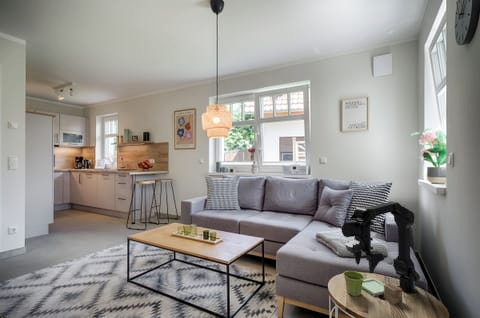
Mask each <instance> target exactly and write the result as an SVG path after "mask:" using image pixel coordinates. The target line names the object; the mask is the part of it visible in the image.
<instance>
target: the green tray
mask: <svg viewBox="0 0 480 318" xmlns="http://www.w3.org/2000/svg"><path fill="white" fill-rule="evenodd" d="M384 285H386V284H385V283H383V282H382V281H380V280H378V279H376V278H375V277H370V278H366V279H364V280H363V283H362V289H361V290H363V291H364V292H366V293H368V294H370V295H371V296H372V297H377V296H381V295H382V296H384Z"/></svg>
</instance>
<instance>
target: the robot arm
mask: <svg viewBox="0 0 480 318" xmlns="http://www.w3.org/2000/svg"><path fill="white" fill-rule="evenodd" d="M389 213H390V214H391V215H392V216H393V221H394V222H395V225H396V226H397V253H398V254H397V257H395V258H393V260H392V262H393V265H392V267H393V269H394V271H395V274H396V275H399V282H398V283H399V284H398V285H397V286H398V287H399V288H401V289H402V292H405V293H407V294H413V293H418V292H419V290H418V289H416V283H417V282H418V281H420V277H421V275H420V274H419V273H418V272H417V271H416V268H415V263H414V261H413V259H412V257H411V228H412V227H413V225H414V224H415V213H414V212H413V211H412V210H410V209H408V208H406V207H405V206H403V205H402V204H400V203H399V202H396V201H387V202H384V203H380V204H377V205H372V206H357V207H355V210H354V211H353V213H352V214H351V217H350V218H349V221H344V223H343V225H342V226H341V228H340V229H341V232H342V236H344V237H345V238H354V239H352V240H348V241H347V242H346V243H344V245H345V248H346V251H347V252H349V253H350V254H353V258H354V260H355V263H356V265H358V266H359V265H360V263H361V259H362V255H363V253H364V254H365V257H366V258H365V260H366V261H367V262H368V270H369V273H370V274H373V273H374V272H375V269H376V267H377V266H378V265H379V263H380V262H382V261H385V255H384V254H383V253H382V252H381V251H378V250H374V247H373V246H372V241H373V240H374V238H373V237H372V235H371V234H372V233H371V231H372V228H371V226H374V225H375V222H373V221H374V220H375V219H376V218H377V217H378V216H380V215H384V214H389Z"/></svg>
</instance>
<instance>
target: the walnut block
mask: <svg viewBox="0 0 480 318" xmlns="http://www.w3.org/2000/svg"><path fill="white" fill-rule="evenodd" d="M398 286H399V285H396V284H394V283H388V284H385V285H384V294H383V299H384V300H386V301H388V302H390V303H391V304H393V305H396V304H400V303H403V290H402V289H401V288H399V287H398Z"/></svg>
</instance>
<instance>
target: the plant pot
mask: <svg viewBox="0 0 480 318" xmlns="http://www.w3.org/2000/svg"><path fill="white" fill-rule="evenodd" d="M342 275H343V276H344V277H343V278H344V280H345V281H344V282H345V286H346V292H347V294H348V295H350V296H353V297H359V296H361V295H362V290H363V289H362V283H363V280H365V275H363V274H362V273H361V272H358V271H354V270H346V271H344V272H343V273H342Z"/></svg>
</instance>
